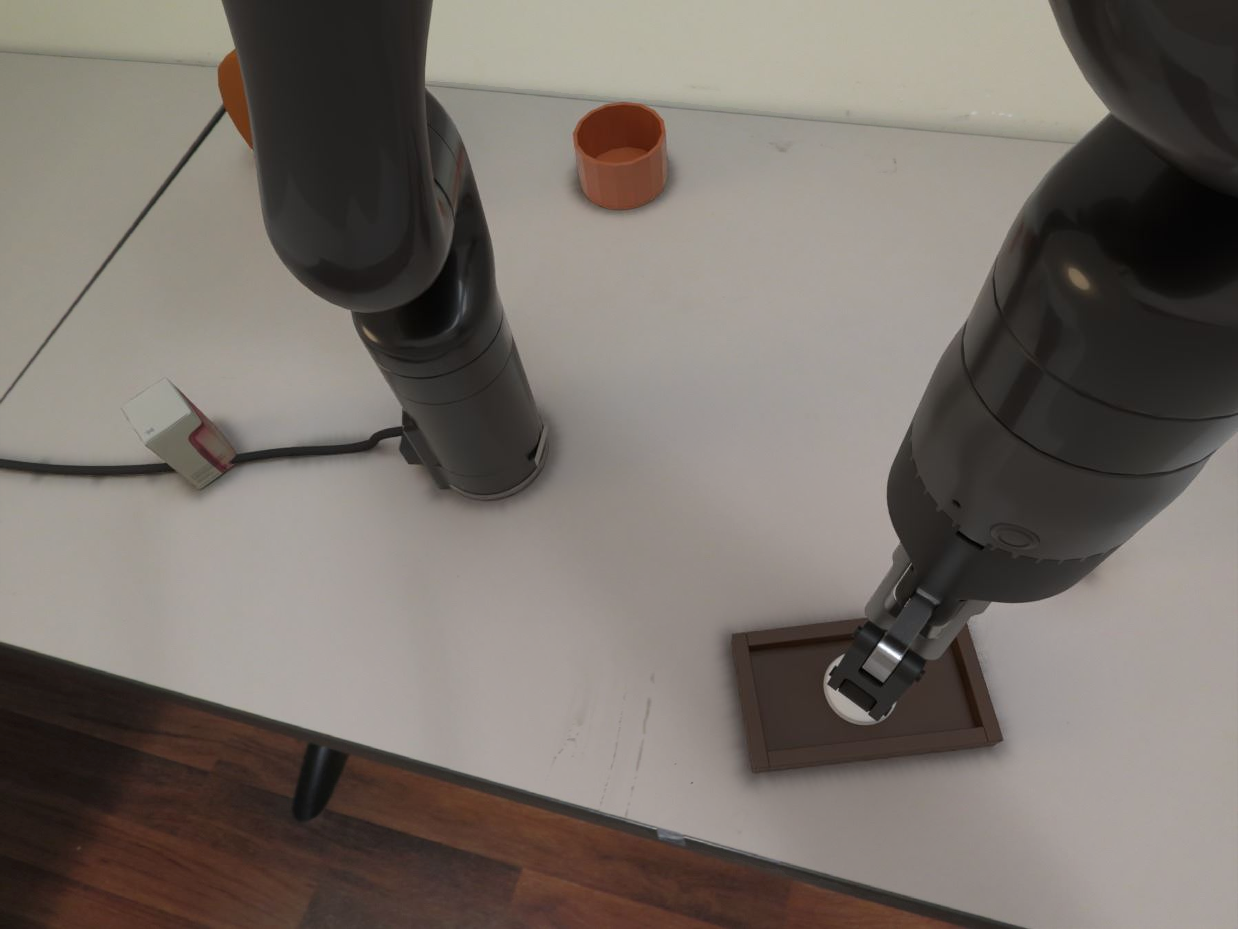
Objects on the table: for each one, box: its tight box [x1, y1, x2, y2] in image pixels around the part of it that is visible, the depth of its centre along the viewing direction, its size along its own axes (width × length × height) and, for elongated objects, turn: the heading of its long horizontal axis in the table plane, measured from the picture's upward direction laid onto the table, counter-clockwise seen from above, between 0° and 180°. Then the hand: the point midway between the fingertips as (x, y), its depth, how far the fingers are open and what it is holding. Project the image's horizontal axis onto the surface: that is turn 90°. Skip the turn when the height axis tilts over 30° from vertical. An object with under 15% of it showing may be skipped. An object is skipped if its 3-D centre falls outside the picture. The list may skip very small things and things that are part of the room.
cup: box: [572, 101, 669, 211], centre depth 80 cm, size 9×9×6 cm
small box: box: [119, 376, 238, 490], centre depth 67 cm, size 5×4×8 cm
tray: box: [730, 617, 1004, 774], centre depth 55 cm, size 16×9×2 cm, turn 95°
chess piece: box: [824, 654, 897, 725], centre depth 51 cm, size 5×5×10 cm
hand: (914, 610), depth 40 cm, fingers open, 8 cm apart
